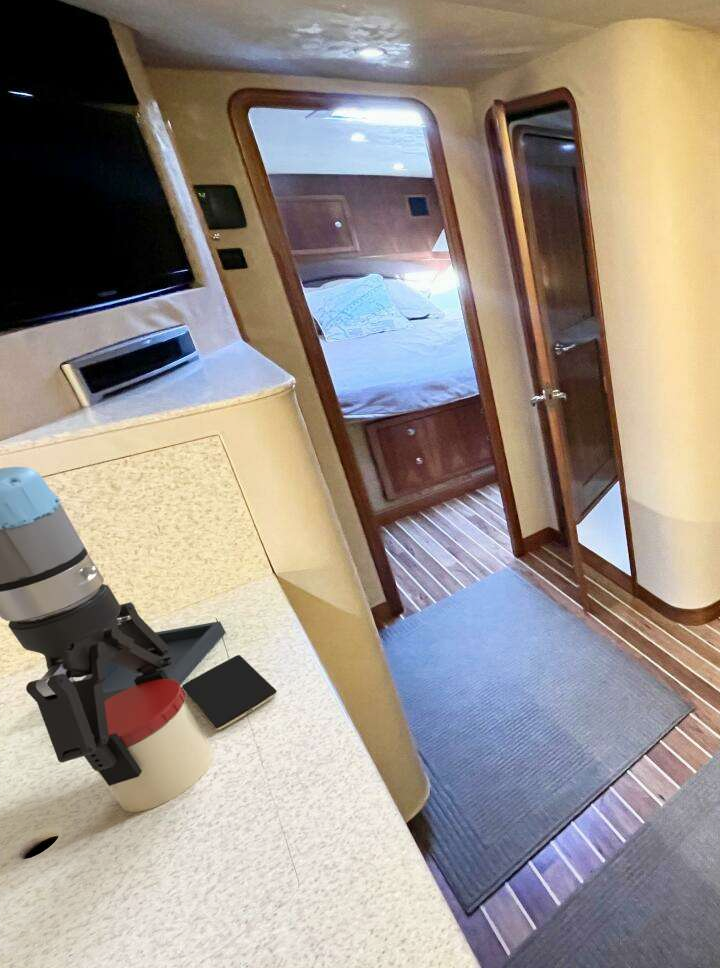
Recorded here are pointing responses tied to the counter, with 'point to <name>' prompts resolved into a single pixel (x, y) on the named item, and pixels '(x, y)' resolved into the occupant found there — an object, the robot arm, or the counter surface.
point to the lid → (143, 709)
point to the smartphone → (229, 691)
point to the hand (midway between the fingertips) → (149, 742)
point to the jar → (165, 763)
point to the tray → (184, 652)
